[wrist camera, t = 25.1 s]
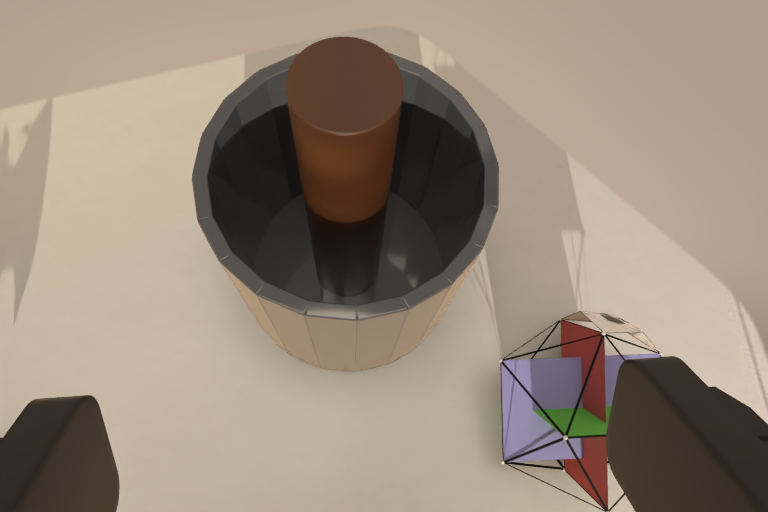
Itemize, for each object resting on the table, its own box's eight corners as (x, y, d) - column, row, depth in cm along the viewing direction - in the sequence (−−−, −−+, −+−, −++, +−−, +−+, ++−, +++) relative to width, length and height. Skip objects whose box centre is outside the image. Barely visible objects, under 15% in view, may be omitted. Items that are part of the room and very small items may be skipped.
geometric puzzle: (679, 543, 22) (753, 400, 18) (510, 554, 22) (544, 411, 18) (605, 405, 28) (648, 274, 24) (471, 412, 28) (490, 279, 24)
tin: (263, 393, 26) (214, 351, 16) (233, 198, 29) (177, 70, 20) (473, 345, 27) (539, 281, 18) (421, 164, 30) (453, 29, 21)
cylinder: (322, 302, 27) (296, 143, 14) (311, 244, 28) (275, 44, 15) (384, 289, 27) (416, 123, 14) (371, 232, 28) (388, 28, 15)
